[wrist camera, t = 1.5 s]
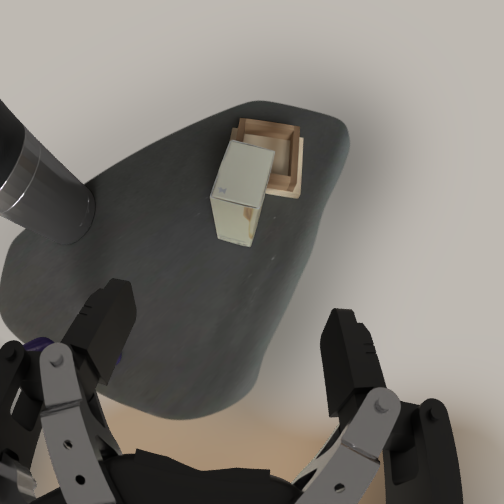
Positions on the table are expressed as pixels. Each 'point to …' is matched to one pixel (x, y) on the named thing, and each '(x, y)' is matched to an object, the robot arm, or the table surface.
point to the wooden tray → (276, 152)
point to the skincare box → (240, 191)
